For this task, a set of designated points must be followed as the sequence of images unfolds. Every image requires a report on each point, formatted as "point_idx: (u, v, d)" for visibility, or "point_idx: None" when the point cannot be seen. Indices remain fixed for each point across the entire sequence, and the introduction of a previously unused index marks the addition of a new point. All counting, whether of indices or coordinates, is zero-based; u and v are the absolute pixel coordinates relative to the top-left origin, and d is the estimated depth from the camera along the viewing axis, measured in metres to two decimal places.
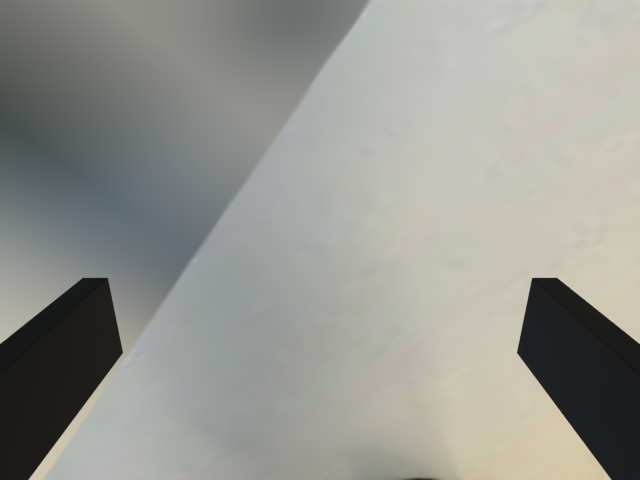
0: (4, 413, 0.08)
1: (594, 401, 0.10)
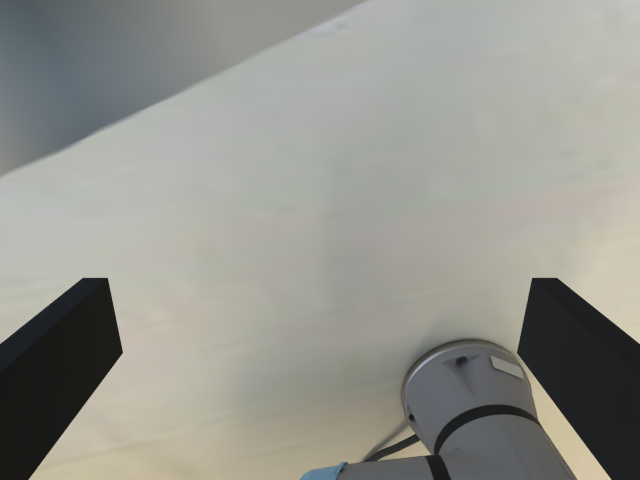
0: (3, 413, 0.08)
1: (594, 401, 0.10)
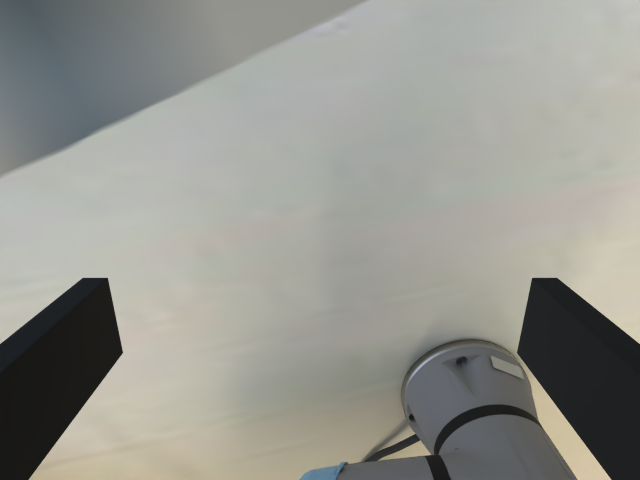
0: (3, 413, 0.08)
1: (594, 401, 0.10)
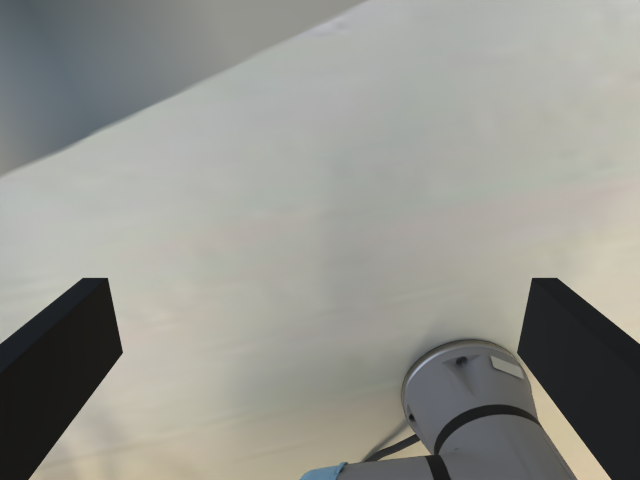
0: (3, 413, 0.08)
1: (594, 401, 0.10)
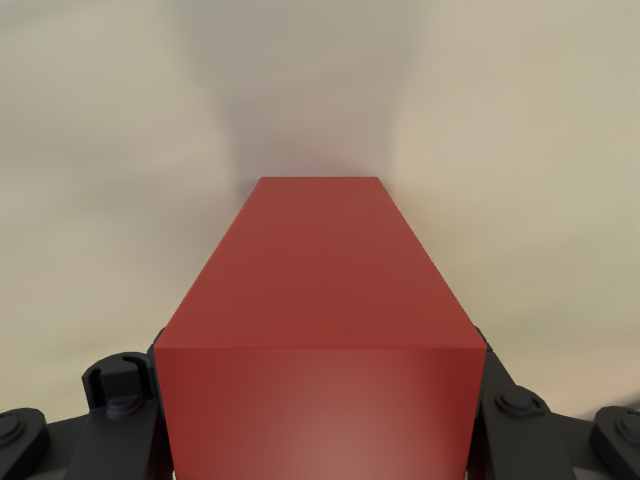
0: None
1: None
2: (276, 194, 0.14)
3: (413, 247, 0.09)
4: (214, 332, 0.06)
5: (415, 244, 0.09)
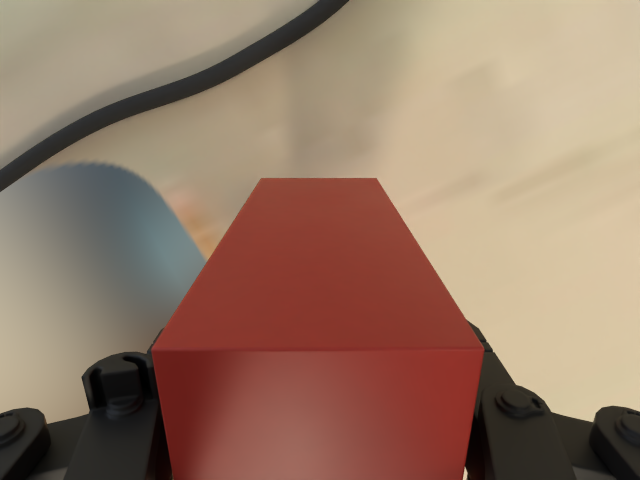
0: None
1: None
2: (275, 195, 0.14)
3: (411, 249, 0.09)
4: (211, 336, 0.06)
5: (413, 246, 0.09)
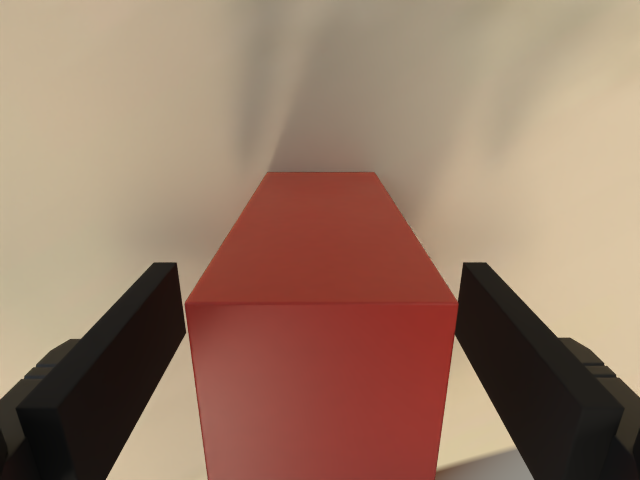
0: (114, 375, 0.09)
1: (501, 369, 0.11)
2: (281, 186, 0.15)
3: (403, 230, 0.10)
4: (233, 294, 0.07)
5: (405, 228, 0.11)
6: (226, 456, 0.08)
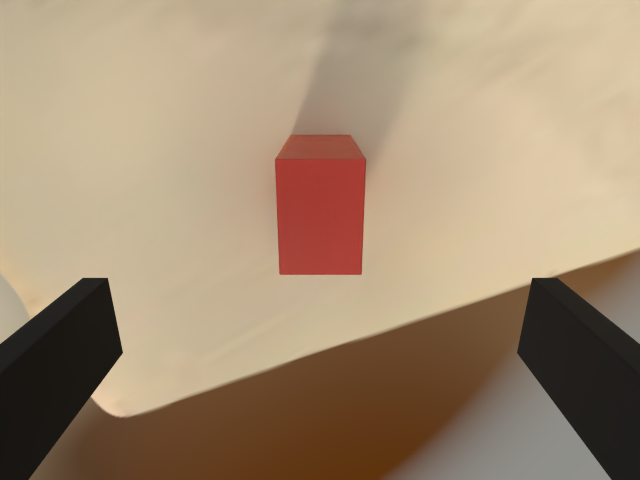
0: (3, 413, 0.08)
1: (594, 401, 0.10)
2: (300, 139, 0.29)
3: (355, 148, 0.24)
4: (290, 157, 0.21)
5: (356, 148, 0.25)
6: (285, 222, 0.22)
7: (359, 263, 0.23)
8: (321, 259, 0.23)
